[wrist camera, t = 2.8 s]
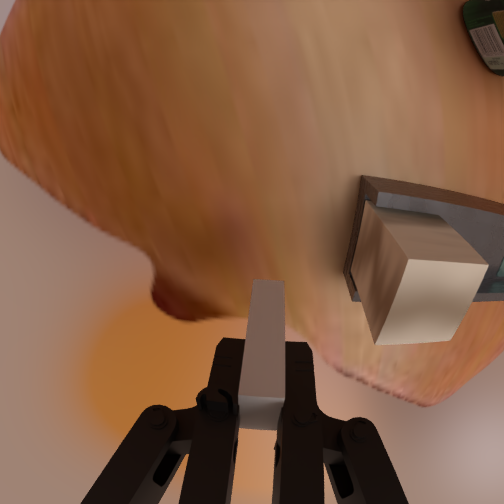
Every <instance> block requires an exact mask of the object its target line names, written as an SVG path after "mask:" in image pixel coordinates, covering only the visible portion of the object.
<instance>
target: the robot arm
mask: <svg viewBox="0 0 504 504" xmlns="http://www.w3.org/2000/svg"><path fill="white" fill-rule="evenodd" d="M196 402H197V405H196V406H195V407H192V408H188V409H181V410H171V409H170V408H168V407H166V406H163V405H152V406H150V407H148V408H146V409H145V410H144V411H143V412H142V413H141V415H140V417H139V418H138V419H137V421H136V422H135V424H134V425H133V427H132V428H131V430H130V431H129V433H128V434H127V435H126V437H125V439H124V440H123V441H122V443H121V445H120V446H119V447H118V449H117V450H116V452H115V453H114V455H113V456H112V458H111V459H110V461H109V462H108V464H107V465H106V467H105V468H104V470H103V471H102V473H101V474H100V476H99V477H98V478H97V480H96V481H95V483H94V484H93V486H92V487H91V489H90V490H89V492H88V493H87V495H86V496H85V498H84V499H83V501H82V502H81V504H158V503H159V501H160V500H161V498H162V496H163V495H164V493H165V491H166V489H167V487H168V485H169V484H170V482H171V480H172V479H173V477H174V475H175V473H176V471H177V470H178V468H179V466H180V464H181V462H182V460H183V459H184V457H185V455H186V454H189V457H188V462H187V466H186V471H185V475H184V481H183V485H182V490H181V495H180V500H179V504H230V502H231V494H232V486H233V478H234V470H235V462H236V454H237V446H238V432H239V428H246V429H259V430H277V440H276V443H275V447H274V450H275V462H274V463H275V464H274V479H273V495H272V504H324V465H323V463H324V464H325V467H326V470H327V473H328V476H329V479H330V482H331V485H332V488H333V491H334V494H335V497H336V500H337V503H338V504H409V503H408V501H407V498H406V496H405V494H404V491H403V489H402V486H401V484H400V482H399V479H398V477H397V474H396V472H395V470H394V467H393V465H392V463H391V461H390V458H389V456H388V454H387V452H386V449H385V448H384V445H383V442H382V440H381V438H380V436H379V434H378V431H377V429H376V427H375V426H374V424H373V423H372V422H371V421H369V420H368V419H366V418H362V417H357V418H352V419H350V420H348V421H343V420H339V419H335V418H332V417H329V416H327V415H326V414H324V413H323V412H322V411H321V410H320V409H319V407H318V405H317V401H316V389H315V376H314V365H313V353H312V350H311V348H310V347H309V345H308V344H307V342H288V341H285V299H284V281H276V280H261V279H253V287H252V294H251V302H250V310H249V317H248V325H247V333H246V339H234V338H223V339H222V340H221V341H220V342H219V344H218V345H217V347H216V351H215V355H214V359H213V365H212V368H211V373H210V377H209V382H208V386H207V387H206V388H204V389H203V390H201V391H200V392H199V393H198V395H197V397H196Z"/></svg>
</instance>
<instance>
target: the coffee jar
mask: <svg viewBox="0 0 504 504" xmlns="http://www.w3.org/2000/svg"><path fill="white" fill-rule="evenodd" d="M463 17H464V21H465V24H466V27H467V30H468V33H469V35H470V38H471V40H472V42H473V44H474V46H475V48H476V50H477V52H478V53H479V55H480V56H481V58H482V59H483V61H484V62H485V64H486V65H487V66H488V67H489V68H490V70H492V71H493V72H494V73H496V74H497V75H500V76H504V0H469V1H467V2H466V3H465V5H464V7H463Z"/></svg>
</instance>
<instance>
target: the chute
mask: <svg viewBox="0 0 504 504" xmlns="http://www.w3.org/2000/svg"><path fill="white" fill-rule="evenodd" d="M366 200H367V201H372V202H373V203H374V205H375V206H377V207H385V208H393V209H401V210H408V211H415V212H422V213H429V214H435V215H439V216H440V217H441V218H443V219H444V220H445V221H446V222H447V223H448V224H449V225H450V226H451V227H452V228H453V229H454V230H455V231H457V232H458V233H459V234H460V235H461V236H462V237H463V238H464V239H465V240H466V241H467V242H468V243H469V244H470V245H471V246H472V247H473V248H474V249H475V250H476V251H477V253H478V254H479V255H480V256H481V257H482V258H483V259H484V260H485V261H486V262H487V263H488V264H489V266H488V268H487V271H486V273H485V275H484V277H483V280H482V282H481V284H480V286H479V288H478V290H477V292H476V295H475V297H474V299H473V301H472V302H481V301H504V204H501V203H497V202H494V201H490V200H486V199H483V198H479V197H475V196H471V195H467V194H462V193H458V192H454V191H449V190H444V189H440V188H435V187H430V186H425V185H420V184H414V183H409V182H403V181H397V180H391V179H384V178H378V177H371V176H364V175H362V178H361V184H360V190H359V197H358V202H357V208H356V214H355V219H354V224H353V230H352V235H351V239H350V244H349V249H348V254H347V258H346V263H345V267H344V271H343V273H344V276H345V280H346V283H347V286H348V289H349V293H350V296H351V299H352V301H355V302H361V299H360V296H359V293H358V290H357V287H356V285H355V282H354V279H353V276H352V273H351V267H352V263H353V259H354V254H355V250H356V245H357V241H358V236H359V232H360V227H361V222H362V217H363V212H364V206H365V201H366Z"/></svg>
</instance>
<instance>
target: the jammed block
mask: <svg viewBox="0 0 504 504" xmlns="http://www.w3.org/2000/svg"><path fill="white" fill-rule="evenodd" d="M488 266H489V264H488V263H487V262H486V261H485V260H484V259H483V258H482V257H481V256H480V255H479V254H478V253H477V251H476V250H475V249H474V248H473V247H472V246H471V245H470V244H469V243H468V242H467V241H466V240H465V239H464V238H463V237H462V236H461V235H460V234H459V233H458V232H457V231H455V230H454V229H453V228H452V227H451V226H450V225H449V224H448V223H447V222H446V221H445V220H444V219H443V218H441V217H440V216H439V215H435V214H429V213H422V212H415V211H408V210H401V209H393V208H385V207H377V206H375V205H374V203H373V202H372V201H367V200H366V201H365V206H364V212H363V217H362V222H361V227H360V232H359V236H358V241H357V245H356V250H355V254H354V259H353V263H352V267H351V273H352V276H353V279H354V282H355V285H356V287H357V290H358V293H359V296H360V299H361V302H362V305H363V308H364V312H365V315H366V318H367V321H368V324H369V328H370V331H371V334H372V338H373V341H374V344H375V345H392V344H411V343H426V342H438V341H449V340H451V338H452V337H453V335H454V333H455V332H456V330H457V328H458V326H459V325H460V323H461V321H462V319H463V318H464V316H465V314H466V312H467V310H468V308H469V306H470V304H471V303H472V301H473V299H474V297H475V295H476V292H477V290H478V288H479V286H480V284H481V282H482V280H483V277H484V275H485V273H486V271H487V268H488Z"/></svg>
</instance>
